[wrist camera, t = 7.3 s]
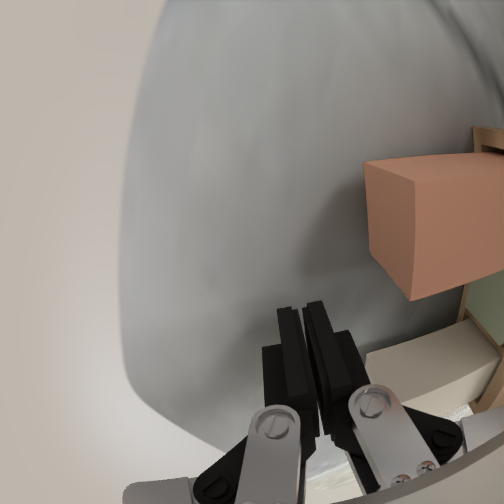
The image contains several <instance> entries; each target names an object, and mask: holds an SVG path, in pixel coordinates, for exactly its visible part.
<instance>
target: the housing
mask: <svg viewBox="0 0 504 504" xmlns="http://www.w3.org/2000/svg"><path fill="white" fill-rule="evenodd" d="M472 128H473V140H474V153H483V152H504V129H500V128H487V127H472ZM469 285H470V282H469V283H466V284H465V285H464V290H463V295H462V299H461V304H460V308H459V312H458V316H457V320H456V323H459V322H461V321H464V320H466V319H468V318H471V320H472V321H473V322H474V323H475V324H476V325H477V327H478V328H479V329H480V330H481V331H482V332H483V334H484V335H485V336H486V337H487V338H488V340H489V341H490V342H491V343H492V345H493V346H494V347H495V348H496V350H497V351H498V352H499V353H500V355H501V356H502V357H503V359H502V361H501V363H500V365H499V367H498V369H497V371H496V373H495V375H494V376H493V378H492V380H491V382H490V384H489V386H488V387H487V389H486V391H485V392H484V394H483V395H481V396H479V397H478V398H476V399H474V400H472V401H470V402H469V403H468V404H469V406H470V408H471V410H472V412H473V414H477V413H481V412H484V411H487V410H490V409H493V408H496V407H499V406H502V405H504V344H502V345H500V346H499V345H498V344H497V343H496V342H495V340H494V339H493V338H492V337H491V336H490V334H489V333H488V332H487V331H486V330H485V329H484V327H483V326H482V325H481V324H480V323H479V322H478V320H477V319H476V318H475V317H474V316H473V315H472V314H471V313H470V312H469V311H468V309H467V308H466V307H465V303H466V299H467V294H468V290H469Z"/></svg>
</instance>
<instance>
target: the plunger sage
mask: <svg viewBox="0 0 504 504" xmlns="http://www.w3.org/2000/svg"><path fill="white" fill-rule="evenodd" d="M465 307H466V308H467V309H468V311H469V312H470V313H471V314H472V315H473V316H474V317H475V318H476V319H477V320H478V322H479V323H480V324H481V325H482V326H483V327H484V329H485V330H486V331H487V332H488V333H489V334H490V336H491V337H492V338H493V339H494V340H495V342H496V343H497V344H498V345H499V346H500V345H502V344H504V269H503V270H501V271H498V272H496V273H493V274H491V275H488V276H485V277H483V278H480V279H477V280H475V281H472V282H470V285H469V290H468V294H467V299H466V303H465Z"/></svg>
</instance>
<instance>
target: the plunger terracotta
mask: <svg viewBox="0 0 504 504" xmlns="http://www.w3.org/2000/svg"><path fill="white" fill-rule="evenodd" d="M363 170H364V179H365V189H366V200H367V214H368V232H369V252H370V253H371V255H372V256H373V257H374V258H375V259H376V260H377V262H378V263H379V264H380V265H381V266H382V267H383V269H384V270H385V271H386V272H387V273H388V275H389V276H390V277H391V278H392V280H393V281H394V282H395V283H396V284H397V286H398V287H399V288H400V289H401V291H402V292H403V293H404V295H405V296H406V297H407V298H408V300H409V301H410V302H411V301H414V300H418V299H421V298H424V297H428V296H431V295H434V294H437V293H440V292H443V291H446V290H449V289H452V288H455V287H458V286H461V285H464V284H466V283H469V282H472V281H475V280H477V279H480V278H483V277H485V276H488V275H491V274H493V273H496V272H498V271H501V270H503V269H504V152H483V153H457V154H439V155H425V156H413V157H403V158H393V159H383V160H375V161H366V162H363Z"/></svg>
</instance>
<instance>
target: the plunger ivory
mask: <svg viewBox="0 0 504 504" xmlns="http://www.w3.org/2000/svg"><path fill="white" fill-rule="evenodd" d="M502 359H503V357H502V356H501V355H500V353H499V352H498V351H497V350H496V348H495V347H494V346H493V345H492V343H491V342H490V341H489V340H488V338H487V337H486V336H485V335H484V334H483V332H482V331H481V330H480V329H479V328H478V327H477V325H476V324H475V323H474V322H473V321H472V320H471V318H468V319H466V320H464V321H461V322H459V323H456V324H454V325H451V326H449V327H446V328H444V329H441V330H438V331H436V332H433V333H430V334H427V335H424V336H422V337H419V338H416V339H413V340H410V341H407V342H404V343H401V344H397V345H394V346H391V347H387V348H384V349H381V350H377V351H374V352H370V353H366V364H365V370H366V372H367V375H368V377H369V380H370V382H371V384H379V385H383V386H385V387H387V388H389V389H390V390H391V391H392V392H393V393H394V394H395V396H396V397H397V399H398V400H399V402H400V403H401V405H404V406H407V407H410V408H413V409H416V410H419V411H422V412H425V413H428V414H431V415H434V416H437V417H440V416H443V415H445V414H447V413H449V412H451V411H453V410H455V409H457V408H459V407H461V406H463V405H465V404H467V403H469V402H470V401H472V400H474V399H476V398H478V397H479V396H481V395H483V394H484V392H485V391H486V389H487V387H488V386H489V384H490V382H491V380H492V378H493V376H494V375H495V373H496V371H497V369H498V367H499V365H500V363H501V361H502Z"/></svg>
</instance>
